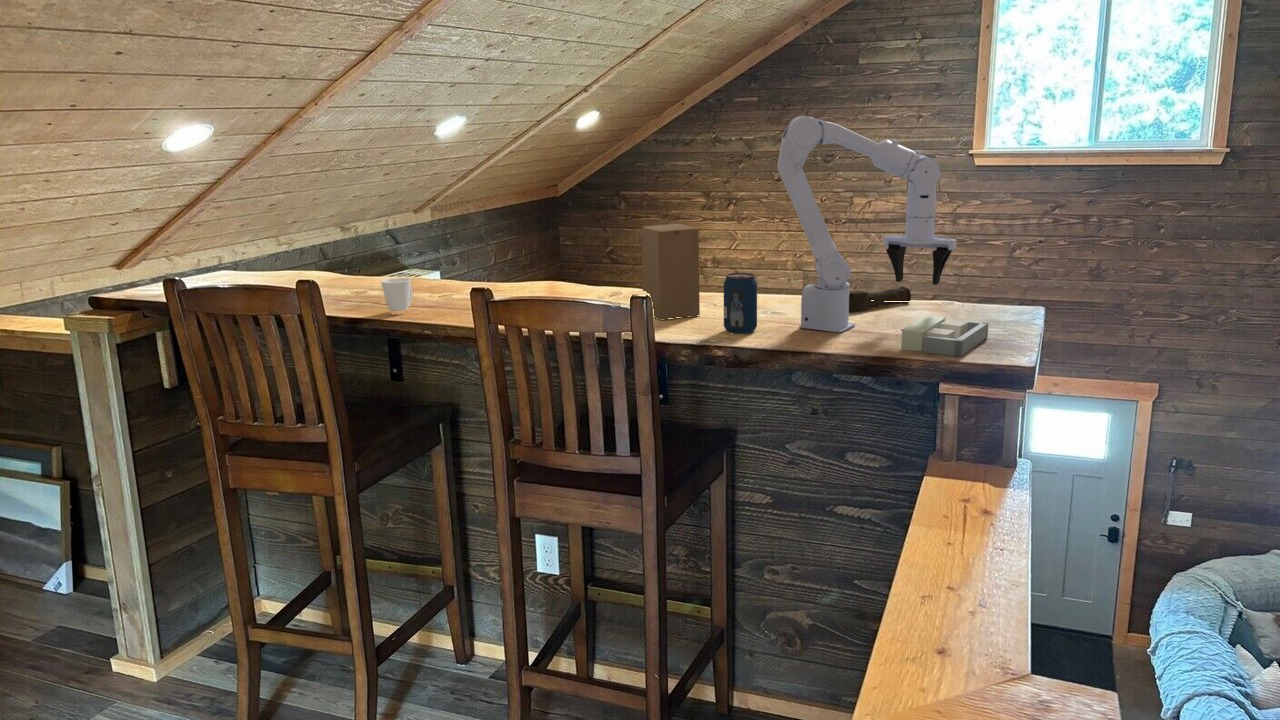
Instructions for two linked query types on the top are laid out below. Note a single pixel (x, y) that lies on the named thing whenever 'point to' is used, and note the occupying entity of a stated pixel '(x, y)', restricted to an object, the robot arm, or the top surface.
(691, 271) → the wooden block
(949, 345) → the grey frame
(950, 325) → the block
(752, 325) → the soda can
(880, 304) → the hand tool
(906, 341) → the sage green beam
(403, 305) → the cup
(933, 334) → the block
